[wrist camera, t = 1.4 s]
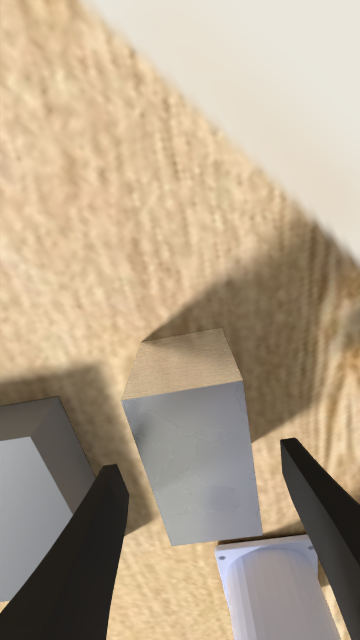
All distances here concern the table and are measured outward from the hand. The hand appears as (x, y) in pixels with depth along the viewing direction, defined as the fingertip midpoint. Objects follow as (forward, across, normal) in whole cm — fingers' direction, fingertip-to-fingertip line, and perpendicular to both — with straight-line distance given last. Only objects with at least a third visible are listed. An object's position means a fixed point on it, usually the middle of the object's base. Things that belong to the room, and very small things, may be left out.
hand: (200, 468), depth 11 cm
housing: (+5, 0, 0) cm, 5 cm away
